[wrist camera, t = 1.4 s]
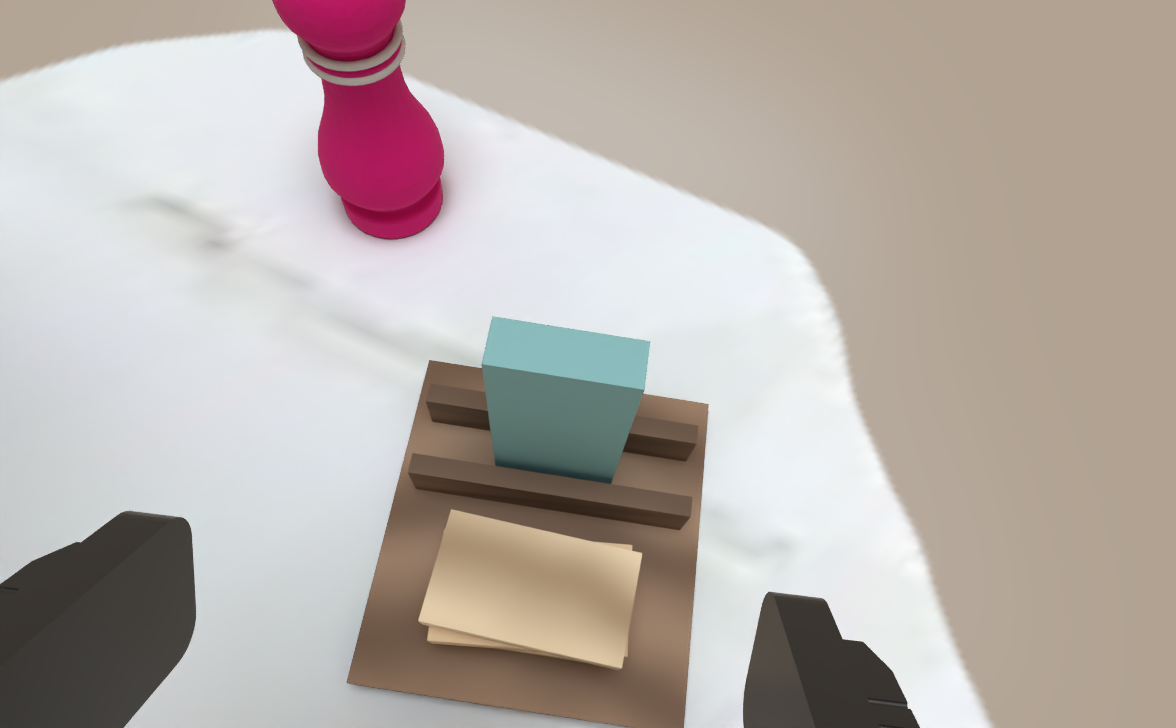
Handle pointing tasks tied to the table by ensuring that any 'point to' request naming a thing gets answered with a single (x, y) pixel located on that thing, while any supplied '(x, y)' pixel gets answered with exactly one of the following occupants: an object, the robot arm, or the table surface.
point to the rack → (555, 504)
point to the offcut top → (533, 589)
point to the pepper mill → (369, 114)
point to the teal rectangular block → (561, 397)
